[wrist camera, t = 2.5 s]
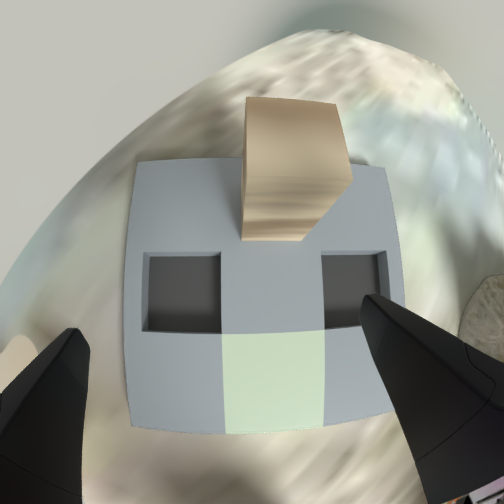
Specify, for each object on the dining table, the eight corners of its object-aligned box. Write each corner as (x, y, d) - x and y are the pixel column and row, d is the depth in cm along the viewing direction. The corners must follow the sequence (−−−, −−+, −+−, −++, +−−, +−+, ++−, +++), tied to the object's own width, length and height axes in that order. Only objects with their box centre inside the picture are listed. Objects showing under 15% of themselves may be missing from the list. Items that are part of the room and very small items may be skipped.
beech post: (301, 241, 20) (353, 180, 11) (241, 241, 20) (247, 175, 10) (296, 187, 21) (335, 104, 12) (240, 186, 21) (246, 96, 11)
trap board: (391, 402, 20) (402, 407, 18) (139, 418, 18) (131, 426, 16) (375, 177, 25) (384, 167, 23) (144, 172, 23) (137, 162, 21)
